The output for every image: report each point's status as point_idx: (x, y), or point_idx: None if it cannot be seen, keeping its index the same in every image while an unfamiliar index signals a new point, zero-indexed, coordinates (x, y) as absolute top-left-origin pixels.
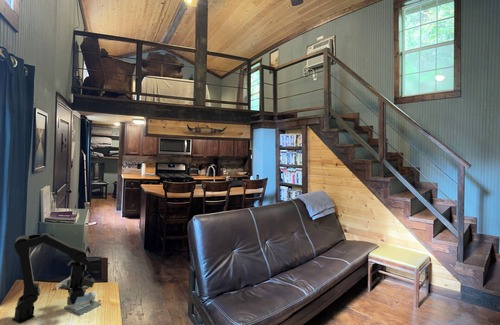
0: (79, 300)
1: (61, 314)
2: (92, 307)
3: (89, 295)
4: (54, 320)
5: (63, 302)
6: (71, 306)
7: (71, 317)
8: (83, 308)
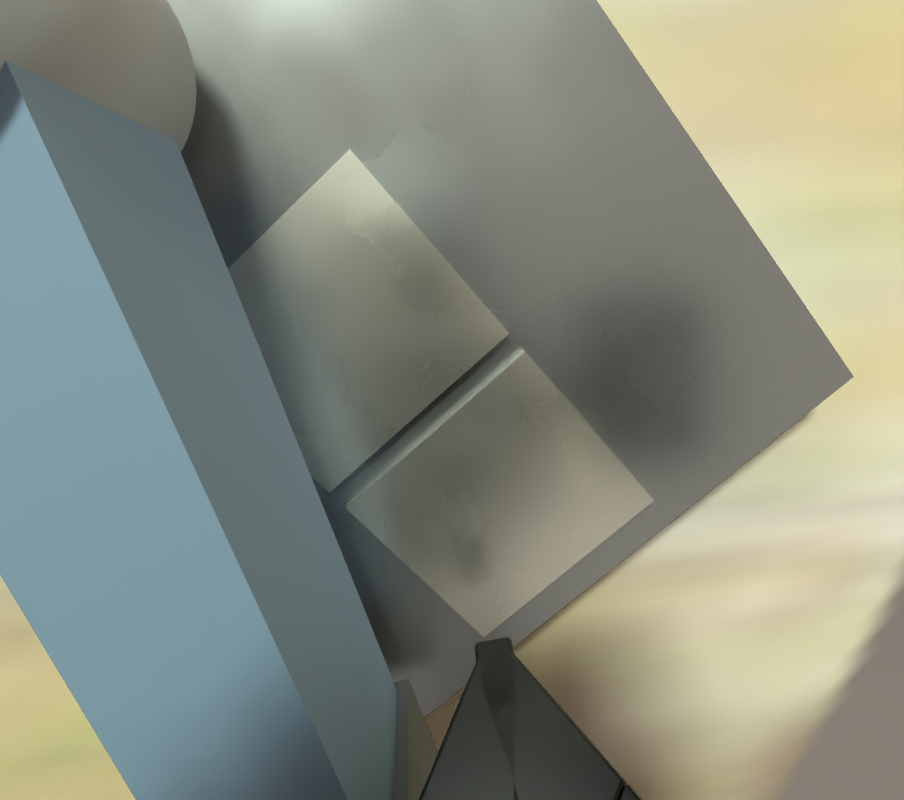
0: (309, 535)
1: (596, 726)
2: (628, 49)
3: (86, 151)
4: (785, 786)
5: (29, 787)
6: (392, 634)
7: (803, 535)
8: (608, 328)
